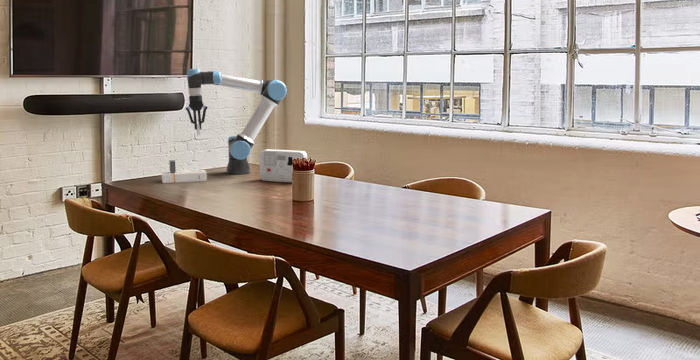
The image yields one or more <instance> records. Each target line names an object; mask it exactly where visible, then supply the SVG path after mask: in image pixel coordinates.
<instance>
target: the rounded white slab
mask: <svg viewBox="0 0 700 360" xmlns="http://www.w3.org/2000/svg"><path fill="white" fill-rule="evenodd" d="M258 157H259V158H258V160H259V178H260V180H262V181H263V182H265V181H266V182H280V183H281V182H282V183H293V182H292V170H293V165H292V160H293V159H296V158H300V159H301V158H306V159H307V160H308V153H307V152H306V151H304V150H293V149H292V150H290V149H269V148H267V149H262V150H260V152H259V156H258Z"/></svg>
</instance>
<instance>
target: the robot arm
mask: <svg viewBox="0 0 700 360" xmlns="http://www.w3.org/2000/svg"><path fill="white" fill-rule="evenodd" d="M186 73H187V75H186V77H187V87H188V95H189V96H188V99H189V100H188V102H189V103H188V106H186V107H185V108H184V109H185V111H187V115H188V117H189V120H190V124H193V125H194V130H196V136H200V135H201V130H202V124H203V123H205V119H206V114H207V113H206V111H207V109H208V106H206V105H204V101H203V95H202V94H203V92H202V91H203V90H202V85H215V86H220V87H225V88H230V89H237V90H241V91H247V92H252V93H258V95H259V96H261V100H260V102H259V104H258V106H257V107H256V108H255V111H254V112H253V113H252V115H251V117H250V119H248V122H247V123H246V125H245V126H244V128H243V130H242V131H241V132H240V133H237V135H236V136H229V137H227V144H228V145H227V146H228V147H227V148H228V149H227V150H228V163H227V167H226V170H225V171H226V174H229V175H245V174H250V173H251V167H250V163H249V160H248V157H249V155H250V154H251V152H252V151H251V150H252V149H253V147H254V145H255V139H256V138H257V136H258V134H259V133H260V131H261V129H263V126H264V124H265V123H266V121H267V119H268V118H269V116H270V114H271V113H272V111H273V110H274V108H275V107H278V106H279V104H280V103H281V101H282V100H283V99H284V98H285V97H286V96H287V93H288V90H287V85H286V84H285V83H284V82H283V81H281V80H279V79H260V80H258V79H252V78H249V77H248V78H247V77H243V76H237V75H230V74H227V73H222V72H221V71H219V70H218V71H216V70H213V71H210V70H208V71H201V70H200V68H188V70H187V71H186ZM202 109H203V111H202V115H201V110H202ZM190 110H192V113H193V114H192V113H191V111H190ZM192 115H193V116H192ZM197 119H198V120H197ZM197 122H198V123H197Z"/></svg>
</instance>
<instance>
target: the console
mask: <svg viewBox="0 0 700 360" xmlns="http://www.w3.org/2000/svg"><path fill="white" fill-rule="evenodd" d="M161 182H162V184H174V183H191V182H193V183H194V182H195V183H196V182H208V172H207V170H206V169H195V170H191V169H190V170H176V172H174V173H170V171H161Z"/></svg>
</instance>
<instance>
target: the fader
mask: <svg viewBox="0 0 700 360" xmlns="http://www.w3.org/2000/svg"><path fill="white" fill-rule="evenodd" d="M168 163H169V172H170V173H174V172H176V171H177V169H176V160H171V159H169V162H168Z"/></svg>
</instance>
